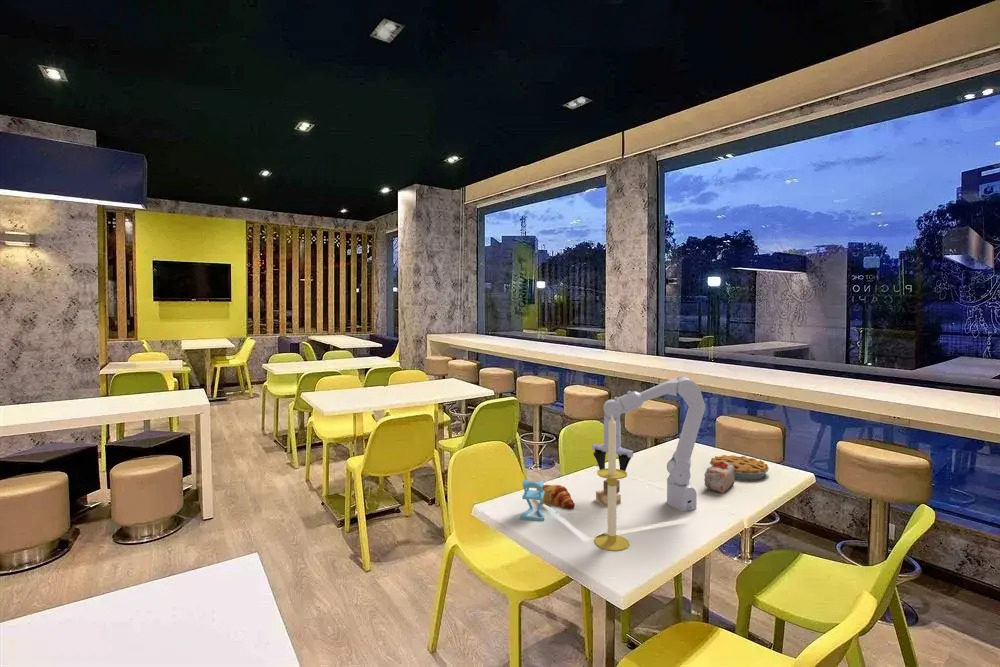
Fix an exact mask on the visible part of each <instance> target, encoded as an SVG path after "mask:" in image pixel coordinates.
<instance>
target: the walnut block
mask: <svg viewBox="0 0 1000 667" xmlns="http://www.w3.org/2000/svg"><path fill="white" fill-rule="evenodd" d="M620 480H621V479H616V494H617V493H618V494H619V493H620V490H621V489H620V488H621V486H620V482H621V481H620ZM603 490H604V493H608V479H607V478H605V479H604V480H603Z"/></svg>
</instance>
